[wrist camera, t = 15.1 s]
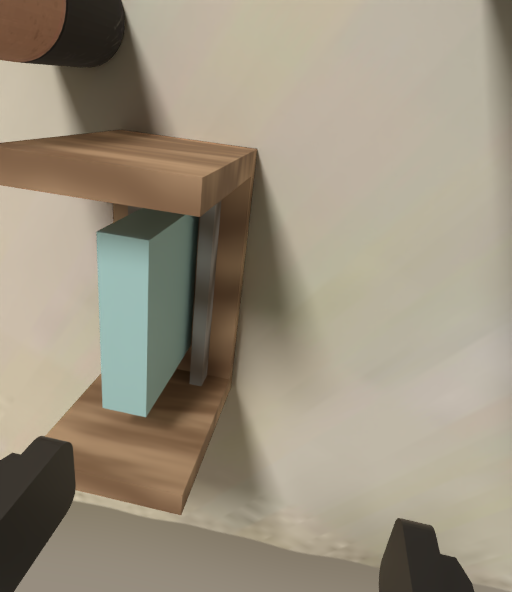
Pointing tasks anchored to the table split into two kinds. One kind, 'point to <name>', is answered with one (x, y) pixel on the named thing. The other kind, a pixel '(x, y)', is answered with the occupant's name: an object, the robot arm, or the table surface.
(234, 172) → the slotted wooden stand
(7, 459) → the robot arm
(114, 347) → the pale teal rectangular block
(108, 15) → the travel mug
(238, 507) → the table surface
